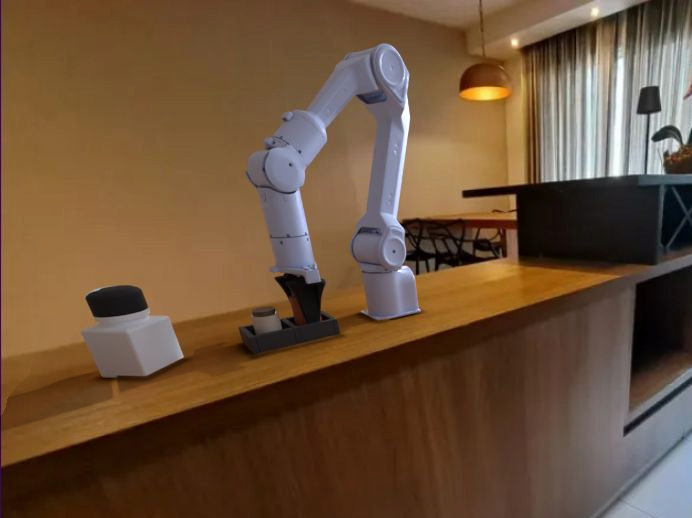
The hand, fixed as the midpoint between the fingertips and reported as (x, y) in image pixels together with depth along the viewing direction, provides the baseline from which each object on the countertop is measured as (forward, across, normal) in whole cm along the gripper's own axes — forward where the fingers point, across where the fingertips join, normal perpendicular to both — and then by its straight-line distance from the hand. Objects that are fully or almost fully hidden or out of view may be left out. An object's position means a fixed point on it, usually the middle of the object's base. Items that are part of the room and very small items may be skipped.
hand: (308, 318), depth 75 cm
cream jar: (+3, 0, -6) cm, 7 cm away
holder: (+3, 0, -3) cm, 5 cm away
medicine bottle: (+3, -3, -23) cm, 24 cm away
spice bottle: (+2, 0, 0) cm, 2 cm away
